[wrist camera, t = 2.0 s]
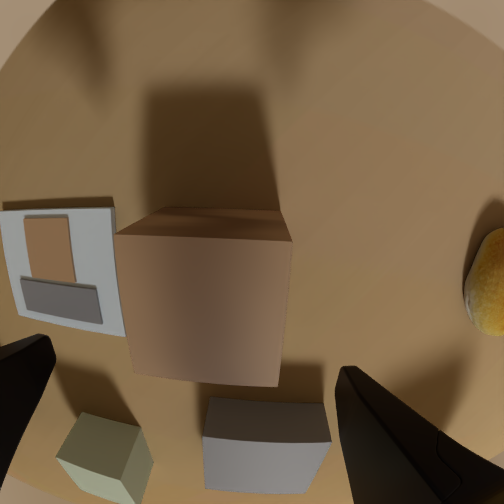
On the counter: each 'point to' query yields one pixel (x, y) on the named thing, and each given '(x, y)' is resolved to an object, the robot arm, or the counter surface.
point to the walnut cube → (206, 294)
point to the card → (64, 266)
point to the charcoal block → (263, 445)
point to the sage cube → (107, 459)
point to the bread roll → (487, 286)
